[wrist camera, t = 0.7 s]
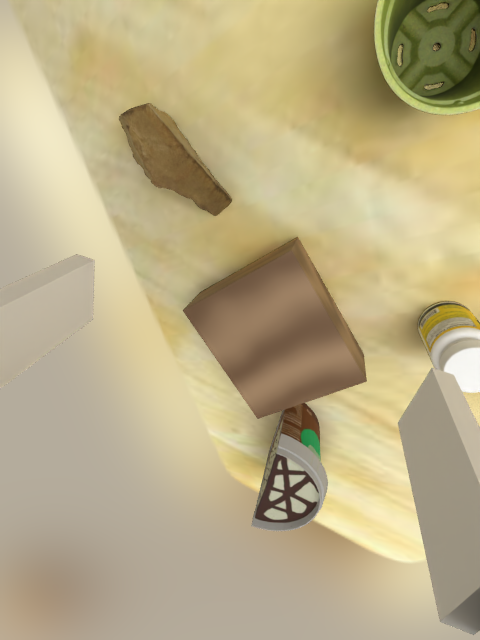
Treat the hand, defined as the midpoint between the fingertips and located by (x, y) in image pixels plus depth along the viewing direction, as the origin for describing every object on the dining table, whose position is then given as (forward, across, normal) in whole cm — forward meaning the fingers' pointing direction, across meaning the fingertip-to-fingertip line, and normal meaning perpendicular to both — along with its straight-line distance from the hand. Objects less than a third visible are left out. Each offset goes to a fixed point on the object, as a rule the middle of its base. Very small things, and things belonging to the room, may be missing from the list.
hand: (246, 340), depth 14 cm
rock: (+23, -12, +2) cm, 26 cm away
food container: (+22, +8, -24) cm, 34 cm away
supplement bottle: (+22, +16, -5) cm, 28 cm away
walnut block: (+22, +1, -11) cm, 25 cm away
